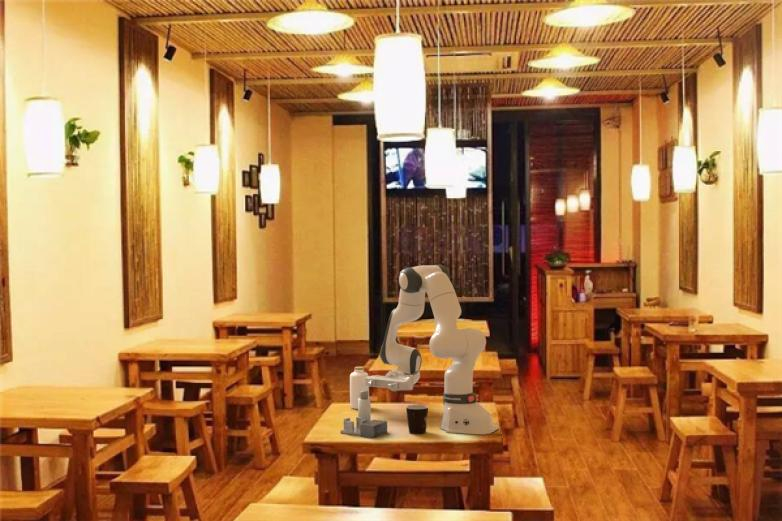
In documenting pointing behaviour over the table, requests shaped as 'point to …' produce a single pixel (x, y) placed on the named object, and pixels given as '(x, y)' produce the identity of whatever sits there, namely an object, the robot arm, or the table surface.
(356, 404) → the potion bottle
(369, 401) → the white lotion bottle
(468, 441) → the table surface
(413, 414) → the coffee mug
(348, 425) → the bottle holder
